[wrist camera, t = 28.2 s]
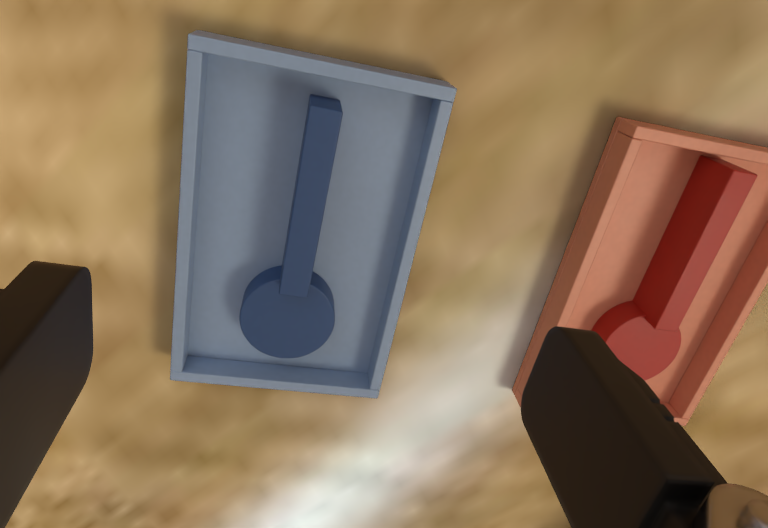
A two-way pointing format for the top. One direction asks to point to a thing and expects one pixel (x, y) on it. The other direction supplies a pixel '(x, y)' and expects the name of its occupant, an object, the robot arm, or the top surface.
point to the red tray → (639, 242)
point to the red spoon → (676, 268)
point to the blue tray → (274, 200)
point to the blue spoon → (298, 253)
